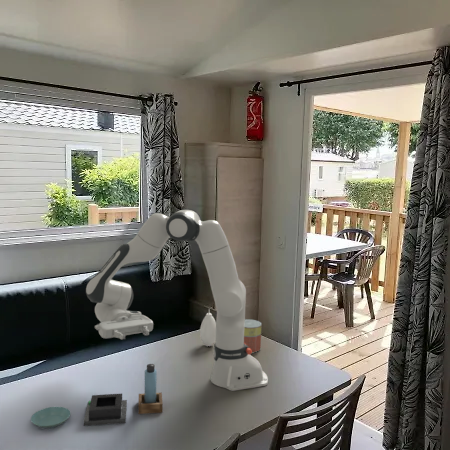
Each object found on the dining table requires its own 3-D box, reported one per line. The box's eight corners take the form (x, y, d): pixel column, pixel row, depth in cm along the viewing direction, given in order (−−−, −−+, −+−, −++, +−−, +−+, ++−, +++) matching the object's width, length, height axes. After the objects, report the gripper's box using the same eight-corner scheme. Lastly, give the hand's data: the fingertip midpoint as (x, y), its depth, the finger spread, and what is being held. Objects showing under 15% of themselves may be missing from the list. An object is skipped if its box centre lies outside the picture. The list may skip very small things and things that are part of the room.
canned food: (242, 342, 219) (243, 317, 218) (264, 346, 214) (265, 321, 213) (232, 350, 209) (232, 324, 208) (254, 355, 204) (255, 329, 203)
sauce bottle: (210, 350, 208) (211, 311, 206) (196, 346, 212) (197, 308, 210) (219, 345, 214) (221, 307, 212) (206, 341, 219) (207, 304, 216)
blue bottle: (156, 403, 160) (156, 362, 158) (156, 409, 156) (156, 367, 154) (144, 404, 159) (144, 363, 157) (144, 410, 155) (144, 368, 153)
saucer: (24, 422, 146) (24, 416, 146) (58, 408, 155) (58, 402, 155) (43, 437, 139) (42, 430, 139) (77, 421, 148) (77, 415, 148)
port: (126, 404, 159) (126, 391, 158) (125, 423, 147) (125, 409, 147) (87, 406, 157) (87, 394, 156) (83, 425, 145) (83, 412, 144)
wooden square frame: (161, 400, 162) (161, 392, 162) (162, 412, 154) (162, 403, 154) (138, 401, 161) (138, 393, 160) (138, 414, 153) (138, 405, 153)
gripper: (93, 317, 168) (109, 331, 158) (143, 310, 181) (160, 323, 170) (92, 333, 169) (107, 348, 159) (142, 326, 182) (159, 339, 171)
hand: (135, 335), depth 165 cm, fingers open, 8 cm apart
